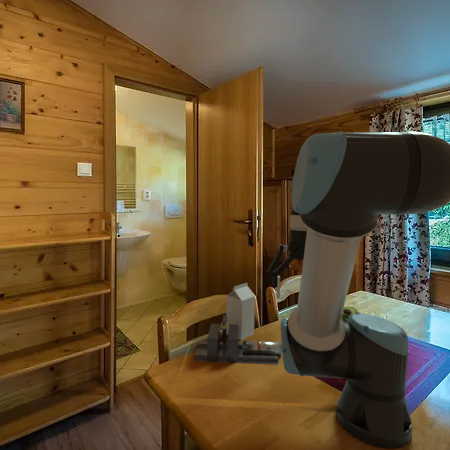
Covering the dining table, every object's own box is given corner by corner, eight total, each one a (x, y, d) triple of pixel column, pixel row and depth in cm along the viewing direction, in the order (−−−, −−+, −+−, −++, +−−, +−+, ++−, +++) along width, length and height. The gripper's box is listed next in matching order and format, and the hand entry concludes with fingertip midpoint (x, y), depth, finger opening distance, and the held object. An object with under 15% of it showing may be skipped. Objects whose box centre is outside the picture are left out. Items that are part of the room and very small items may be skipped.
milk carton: (254, 337, 112) (255, 284, 111) (241, 343, 107) (242, 289, 105) (238, 331, 117) (239, 280, 115) (225, 337, 112) (226, 284, 110)
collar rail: (278, 368, 92) (279, 332, 91) (193, 364, 94) (193, 329, 93) (274, 348, 104) (275, 316, 103) (199, 345, 105) (199, 314, 104)
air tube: (280, 351, 100) (281, 339, 99) (282, 357, 96) (282, 345, 96) (242, 349, 100) (242, 338, 100) (242, 355, 97) (242, 343, 96)
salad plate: (389, 332, 119) (390, 320, 118) (348, 338, 114) (349, 325, 113) (354, 313, 137) (355, 303, 137) (318, 317, 132) (319, 307, 132)
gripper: (340, 229, 99) (337, 295, 101) (260, 227, 100) (258, 293, 102) (348, 231, 92) (345, 303, 93) (261, 229, 93) (260, 300, 94)
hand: (300, 298), depth 97 cm, fingers open, 13 cm apart
